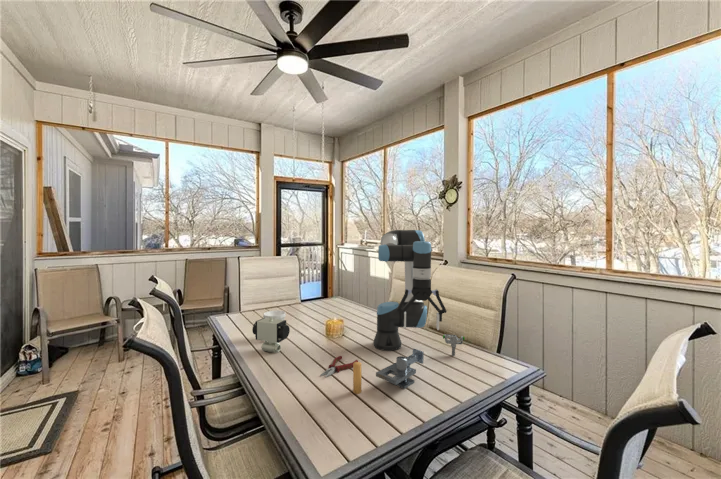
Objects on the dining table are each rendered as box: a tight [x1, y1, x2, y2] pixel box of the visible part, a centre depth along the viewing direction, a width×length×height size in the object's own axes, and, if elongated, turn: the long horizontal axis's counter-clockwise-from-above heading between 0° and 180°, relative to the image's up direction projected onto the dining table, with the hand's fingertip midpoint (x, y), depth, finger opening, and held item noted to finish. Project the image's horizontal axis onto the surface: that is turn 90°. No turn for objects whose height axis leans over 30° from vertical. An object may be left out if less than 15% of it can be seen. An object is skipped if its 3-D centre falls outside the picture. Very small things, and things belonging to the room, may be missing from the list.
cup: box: [262, 309, 287, 320], centre depth 178 cm, size 12×12×15 cm
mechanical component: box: [442, 333, 465, 357], centre depth 156 cm, size 3×10×10 cm, turn 78°
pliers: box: [320, 355, 359, 378], centre depth 140 cm, size 12×20×3 cm, turn 148°
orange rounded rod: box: [352, 361, 363, 395], centre depth 121 cm, size 3×3×11 cm
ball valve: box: [252, 317, 291, 353], centre depth 161 cm, size 18×8×18 cm, turn 71°
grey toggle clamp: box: [375, 348, 425, 390], centre depth 129 cm, size 10×23×10 cm, turn 136°
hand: (421, 328), depth 130 cm, fingers open, 13 cm apart
